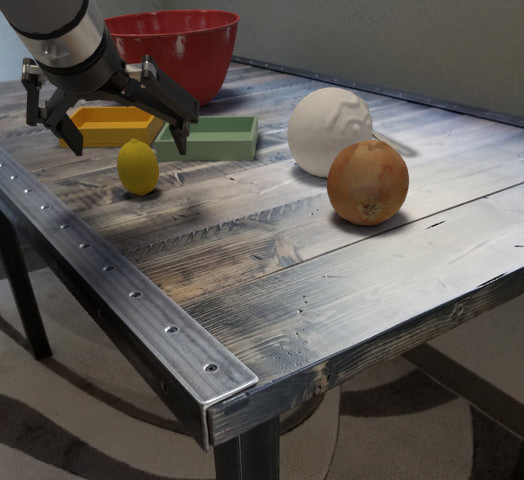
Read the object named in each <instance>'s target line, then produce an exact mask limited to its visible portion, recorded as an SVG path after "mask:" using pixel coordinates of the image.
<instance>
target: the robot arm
mask: <svg viewBox="0 0 524 480" xmlns="http://www.w3.org/2000/svg"><path fill="white" fill-rule="evenodd" d="M0 12H1V14H2V16H3V17H4V18H5V20H6V22H7V23H8V24H9V25H10V27H11V28H12V30H13V31H14V32H15V34H16V36H18V38H19V39H20V41H21V42H22V44H23V45H24V47H25V48H26V49H27V51H28V52H29V53H30V55H31V56H32V58H31V57H23V58H22V65H21V67H22V68H21V76H20V78H21V79H20V80H21V81H20V82H21V85H22V86H23V87H24V89H25V90H26V91H25V92H26V110H25V111H26V113H25V124H26V125H27V126H29V127H32V128H33V127H34V128H35V127H37V126H38V124H40V125H42V126H43V127H44V128H45V129H48V130H50V131H51V133H52V134H53V135H54V137H56V138H57V139H58V138H59V139H63V140H64V141H65V142H66V144H67V145H68V146H69V147H68V148H69V149H70V150H71V151H72V153H73V154H74V155H75V156H76V157H83V152H84V151H83V148H84V147H83V137H84V136H83V135H82V134H81V132H80V131H79V130H78V128H77V127H76V126H75V124H74V123H73V121H72V120H71V119H70V116H69V114H68V113H67V112H68V111H69V110H70V109H71V108H72V109H73V108H74V107H75V106H76V105H77V103H78V102H79V101H82V100H84V101H85V102H96V101H104V102H105V101H106V102H114V103H117V104H119V105H121V106H122V107H133V106H134V107H137V108H139V109H141V110H143V111H145V112H147V113H149V114H151V115H153V116H155V117H157V118H159V119H161V120H163V121H164V123H166V122H167V123H169V130H170V132H171V135H172V137H173V139H174V142H175V144H176V146H177V149H178V151H179V153H180V155H186V145H187V137H189V135H190V124H197V123H198V122H199V117H200V107H199V101H198V100H197V99H196V98H195V97H193V96H192V95H191V94H190V93H189V92H187V91H186V90H185V89H184V88H183V87H181V86H180V85H179V84H178V83H177V82H175V81H174V80H173V79H172V78H171V77H169V76H168V75H167V74H166V73H165V72H163V71H162V70H161V69H160V68H159V67H158V65H157V63H156V61H155V60H154V58H153V57H152V56H150V55H143V56H142V63H136V64H128V63H127V62H126V61H125V60H123V59H122V58H121V57H120V56H119V53H118V50H117V47H116V44H115V42H114V40H113V38H112V36H111V34H110V32H109V29H108V27H107V25H106V23H105V21H104V19H105V18H103V14H102V12H101V10H100V7H99V6H98V4H97V2H96V0H0ZM46 81H48V82H49V83H50V84H51V85H52V86H54V87H55V88H56V89H55V90H54V92H53V93H52V94H51V96H50V98H49V99H48V100H47V99H45V101H44V103H45V104H44V107H43V106H42V107H41V106H39V105H40V93H41V92H40V91H42V89H43V86H45V85H46ZM124 88H125V93H124V92H123V90H124Z"/></svg>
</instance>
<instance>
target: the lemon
mask: <svg viewBox="0 0 524 480" xmlns="http://www.w3.org/2000/svg"><path fill="white" fill-rule="evenodd" d="M119 149H120V150H119V151H118V154H117V158H116V170H117V174H118V178H119V181H120V183H121V185H122V186H123V188H125V189H126V190H127V191H128V192H129V193H131V194H134V195H137V196H138V197H144V196H147V194H148V193H151V192H152V191H153V190H154V189H156V186H157V185H158V182H159V179H160V167H159V161H157V156H156V152H154V150H153V149H152V148H151V146H148V145H147V144H145V143H143V142H140V141H138V140H137V139H131V140H130V142H128V143H126V144H125V145H124V146H123V147H120V148H119Z"/></svg>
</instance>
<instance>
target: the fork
mask: <svg viewBox="0 0 524 480" xmlns="http://www.w3.org/2000/svg"><path fill="white" fill-rule="evenodd" d="M372 136H374V137H375V138H376V139H377V140H380V141H384V142H386V143H387V144H389V145H390V146H391V147H392V148H393V149H395V150H401V147H400V146H399V145H398V144H396V143H394V142H393V141H391V140H389V139H388V138H386V137H384V136H383V135H381V134H380V133H378V132H377V131H375V130H374V129H373V131H372Z"/></svg>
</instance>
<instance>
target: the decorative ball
mask: <svg viewBox="0 0 524 480" xmlns="http://www.w3.org/2000/svg"><path fill="white" fill-rule="evenodd" d="M373 130H374V128H373V118H372V115H371V113H370V108H369V105H368V103H367V102H366V101H365V100H364V99H363V98H362V97H360V96H358V95H357V94H355V93H353V92H351V91H349V90H347V89H345V88H340V87H332V86H331V87H330V86H329V87H324V88H319V89H316V90H314V91H312V92H310V93H308V94H307V95H306V96H304V97H303V98H302V99H301V100H300V101H299V102H298V103H297V104H296V106H295V107H294V109H293V111H292V112H291V115H290V117H289V120H288V124H287V131H286V132H287V133H286V135H287V145H288V149H289V151H290V154H291V156H292V158H293V160H294V161H295V162H296V163H297V165H298V166H299V167H300V168H301V169H302V170H304V171H305V172H307V173H308V174H310V175H311V176H312V175H313V176H315V177H318V178H323V179H324V178H325V179H327V178H328V174H329V170H330V167H331V165H332V163H333V161H334V159H335V158H336V156H337V155H338V154H339V153H340V152H341V151H342V150H343V149H345V148H346V147H348V146H350V145H352V144H355V143H358V142H361V141H366V140H373V134H372V131H373Z"/></svg>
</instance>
